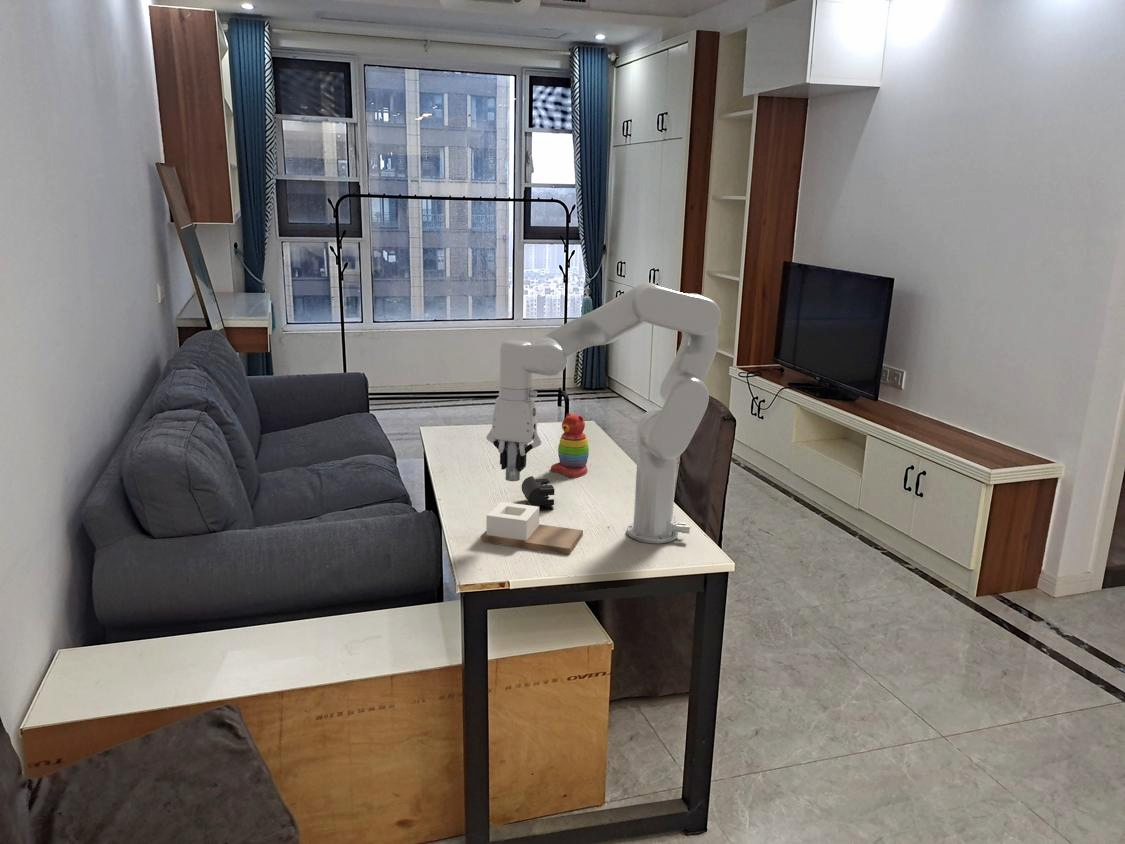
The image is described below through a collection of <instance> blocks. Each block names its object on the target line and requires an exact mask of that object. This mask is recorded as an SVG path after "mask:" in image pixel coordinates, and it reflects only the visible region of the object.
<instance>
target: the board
mask: <svg viewBox="0 0 1125 844" xmlns="http://www.w3.org/2000/svg"><path fill="white" fill-rule="evenodd" d="M583 536H584V530H583V529H577V528H570V527H569V528H568V527H562V526H554V525H547V524H546V525H545V524H540V523H539V526H538V527H537V529H536V530H535V531H534V532H533V533H532V534H531V536H530V537H529V538H528V539H527V540H526V541H525V540H518V539H511V538H504V537H497V536H490V535H486V530H485V531H484V532H483V533H482V534H481V535H480V542H481V543H485V544H486V543H487V544H493V545H501V546H508V547H514V548H521V549H529V550H536V551H541V550H543V551H542V552H548V551H549V553H555V552H556V553H557V554H562V553H563V554H564V555H569V554H570V555H571V554H572V552H573V551H574V549H575V548H576V546H577V545H578V544H579V542H580V540H581V539H582V537H583ZM563 554H562V555H563Z"/></svg>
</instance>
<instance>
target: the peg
mask: <svg viewBox="0 0 1125 844" xmlns="http://www.w3.org/2000/svg"><path fill="white" fill-rule="evenodd" d="M518 455H520V447H519V443H517V442H510V441H507V443H506V468H505V478H504V479H505V480H506V481H508V482H519V481H520V479H521V478H520V477H521V472H518V471H517V466H518Z"/></svg>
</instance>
